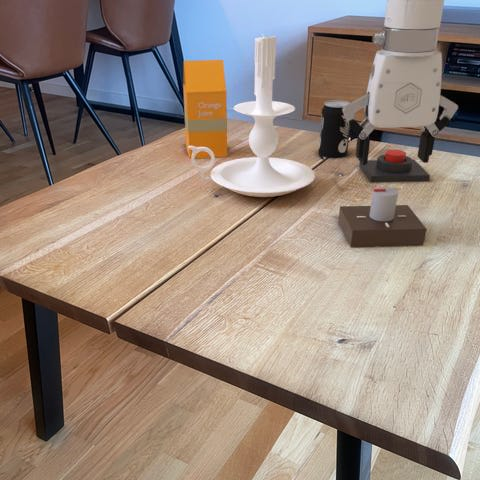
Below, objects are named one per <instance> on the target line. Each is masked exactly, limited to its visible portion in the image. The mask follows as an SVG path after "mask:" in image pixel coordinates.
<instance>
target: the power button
mask: <svg viewBox="0 0 480 480" xmlns="http://www.w3.org/2000/svg"><path fill="white" fill-rule="evenodd" d="M385 154H386V156H385V160H386V161H388V162H395V163H402V162H405V157H406V156H407V152H406V151H404V150H400V149H388V150H386V152H385Z"/></svg>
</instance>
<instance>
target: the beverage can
mask: <svg viewBox="0 0 480 480" xmlns="http://www.w3.org/2000/svg"><path fill="white" fill-rule="evenodd" d="M349 103H350V101H347V100H341V99H340V100H339V99H336V100H335V99H333V100H332V99H331V100H327V101H324V103H323V104H324V105H323V107H322V109H321V115H320V117H321V118H320V128H319V138H318V139H319V140H318V156H319V157H320V159H322V160H324V161H325V158H329V159H341V158H345V157H347V156H348V150H349V141H350V131H351V128H350V126H349V125H348V123H347V121H346V118H345V116H344V114H343V111H342V108H343V107H344V106H346V105H348V104H349Z"/></svg>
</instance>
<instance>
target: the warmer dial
mask: <svg viewBox="0 0 480 480" xmlns="http://www.w3.org/2000/svg"><path fill="white" fill-rule="evenodd" d="M398 196H399V191H398V190H397V189H396V188H394V187H391V186H377V187H374V188H373V189H372V194H371V201H370V206H371V208H370V215H369V216H370V218H372V219H373V220H376V221H383V222H386V221H391V220H393V219H394V214H395V208H396V205H397V202H398Z"/></svg>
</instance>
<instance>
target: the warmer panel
mask: <svg viewBox="0 0 480 480" xmlns="http://www.w3.org/2000/svg"><path fill="white" fill-rule="evenodd" d="M370 208H371V205H340V206H339V211H338V219H337V222H338V225H339V227H340V229H341V231H342V233H343V235H344V237H345V239H346V241H347V244H348V245H349V247H350V248H380V247H381V248H383V247H389V248H390V247H424V245H425V241H426V240H425V239H426V234H427V227H426V226H425V225H424V223H423V222H422V221H421V220H420V219H419V217H418V216H417V215H416V213H415V212H414V211H413V210H412V208H411V207H410V206H409V205H408V204H396V208H395V214H394V219H393V220H391V221H386V222H383V221H376V220H373V219H372V218H370V216H369V215H370Z"/></svg>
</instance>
